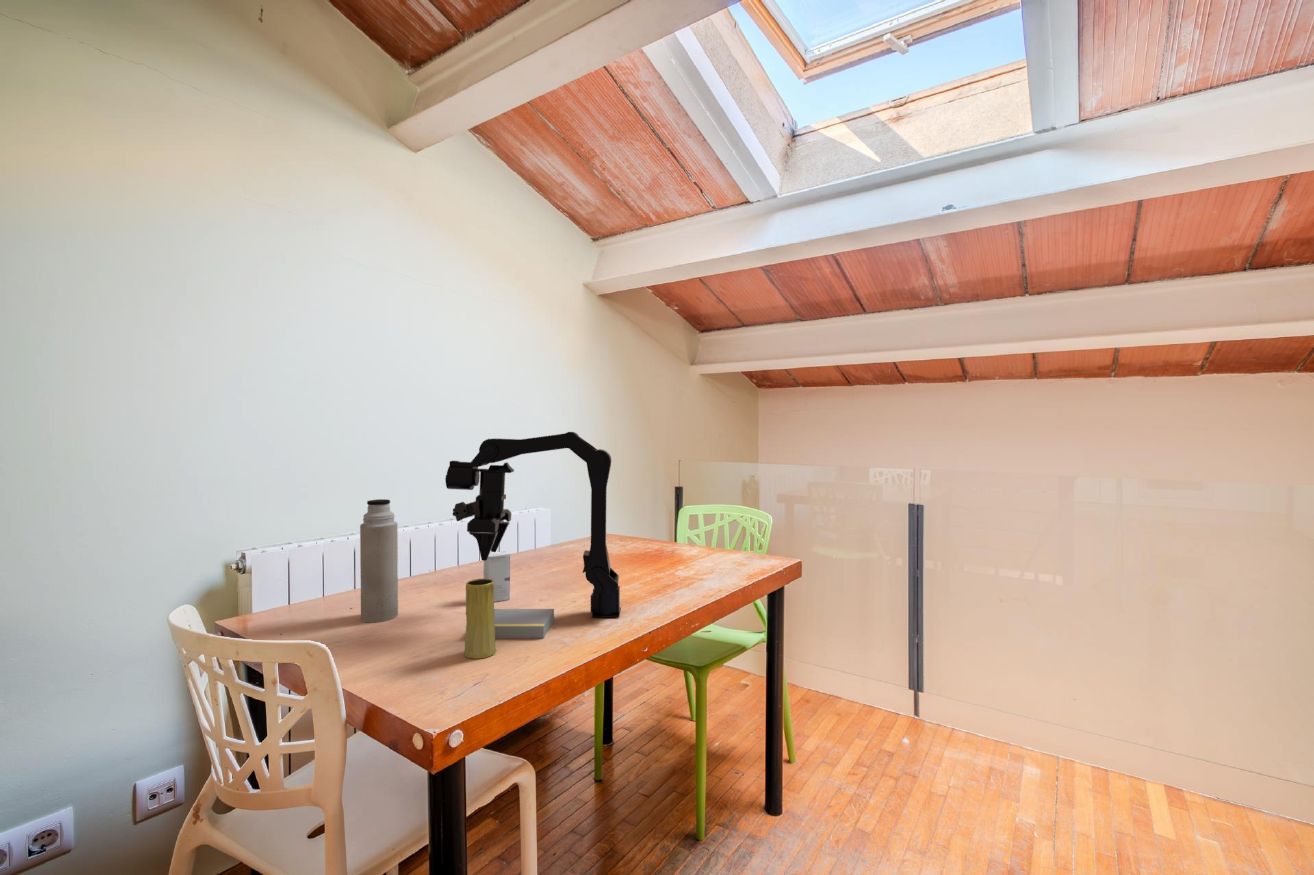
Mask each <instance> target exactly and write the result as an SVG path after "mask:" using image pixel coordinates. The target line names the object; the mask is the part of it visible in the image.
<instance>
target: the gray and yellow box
mask: <svg viewBox="0 0 1314 875" xmlns="http://www.w3.org/2000/svg"><path fill="white" fill-rule="evenodd" d="M494 617H495V639H545V636H546V635H547V634H548V631H549V629H550V627H551V625H552V624H553V622H554V621H555V608H494Z"/></svg>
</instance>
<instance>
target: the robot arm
mask: <svg viewBox="0 0 1314 875" xmlns="http://www.w3.org/2000/svg"><path fill="white" fill-rule="evenodd" d="M563 449H569V450H570V451H572V452H573V453H574V455H576V456H578V458H580V459H581V460H582V461H584V462H585V463H586V467H587V473H588V474H587V475H588V479H589V484H590V489H591V491H590V498H591V499H590V500H591V501H590V547H589V550H586V549H585V550H584V552H583V555H582V558H583V570H582V573H583V574H585V578H586V581H588V583H589V584H591V585H592V586H593V589H592V593H591V594H590V613H591V614H592V615H591V618H620V616H621V611H622V610H621V608H622V607H621V588H620V587H621V586H619V577H620V576H619V574H618V573H617V572H616V571H615V570H614V569H612V568H611V563H610V562H611V561H610V556H609V551H608V547H607V489H608V488H607V486H608V482H609V476H610V472H611V467H612V456H611V455H610V453H609V452H608V451H607V450H605V449H601V448H600V449H597V448H596V447H595V446H593V445H592V444H591V443H589V442H588V441H586V440H585V439H584V438H582V437H581V436H579V434H578V433H577V432H575V431H567V432H565V433H560V434H559V433H558V434H552V435H544V436H537V437H530V438H522V439H519V438H518V439H516V438H487V439H485V440H483V441H482V442H481V444H480V446H479V447H478V453H477V454H476V455H475V456H474V458H472V460H471V461H459V460H450V461H449V466H448V468H447V471H446V475H445V486H446V489H448V490H463V491H464V490H465V491H473V490H474V488H475V487H478V486H479V494H478V495H476V496H475V501H472V502H468V503H466V502H464V501H461V502H459V503H458V502H457V503H455V505H454V508H452V516H453V517H455V520H456V522H460V521H463V519H467V518H470V517H473V516H474V517H473V518H472V519H471V520H469V521H468V522H467V526H466V527H467V528H466V532H468V534H469V535H471V536H472V537H474V538H475V540H476V542H477V546H478V551H479V555H480V558H481V561H483V562H484V561H486V560H487V558H488V556H489V554H490V553H494V552H498V551H497V550H498V548H499V546H500V544H501V542H502V539H503V537H504V535H505V534H506V531H507V528H508V527H509V525H510V521H512V512H511V511H510V510H509V509H508V508H504V506H505V500H506V499H507V494H505V488H506V487H505V485H506V474H511V473H514V472H515V469H514V468H513V467H512V466H510V464H509V462H504V463H503V464H501V465H500V464H499V465H498V464H497V465H496V464H494V463H498V462H502V461H505V460H509V459H512V458H515V457H517V456H520V455H526V454H533V453H535V454H536V453H541V452H548V451H556V450H563ZM489 464H490V465H489ZM487 465H489V466H488V468H479V467H482V466H487Z"/></svg>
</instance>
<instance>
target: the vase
mask: <svg viewBox="0 0 1314 875" xmlns="http://www.w3.org/2000/svg"><path fill="white" fill-rule="evenodd" d="M465 609H466V610H465V616H466V618H465V619H466V620H465V622H466V625H465V626H466V627H465V641H464V652H463V654H464V657H466V658H468V659H470V660H471V659H473V660H480V659H486V658H489V657H491V655H492V656H494V655H495V653H496V652H497V649H496V638H495V617H494V609H495V602H494V581H493V580H492V579H484V578H477V579H476V578H475V579H471V580H468V581H467V582H466V583H465Z"/></svg>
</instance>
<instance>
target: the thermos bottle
mask: <svg viewBox="0 0 1314 875" xmlns="http://www.w3.org/2000/svg"><path fill="white" fill-rule="evenodd" d="M390 503H391V500H390V499H385V498H384V499H380V498H379V499H371V500H367V501H366V504H367V505H368V506H367V512H366V513H365V514H363V519H362V521H363V523H361V524H360V525H359V535H360V536H359V537H360V538H359V541H360V542H359V544H360V546H359V547H360V548H359V550H360V555H359V557H360V558H359V559H360V560H359V561H360V564H359V565H360V566H359V568H360V621H362V622H364V623H381V622H386V621H389V620H393V619H395V618H397V617H398V616H399V582H398V581H399V578H398V576H399V575H398V572H399V571H398V567H399V566H398V564H399V563H398V562H399V561H398V560H399V559H398V558H399V557H398V553H399V552H398V550H399V547H398V544H399V543H398V541H399V540H398V533H399V532H398V522H397V521H395V517H396V515H395V513H394V512H392V511H391V505H390Z"/></svg>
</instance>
